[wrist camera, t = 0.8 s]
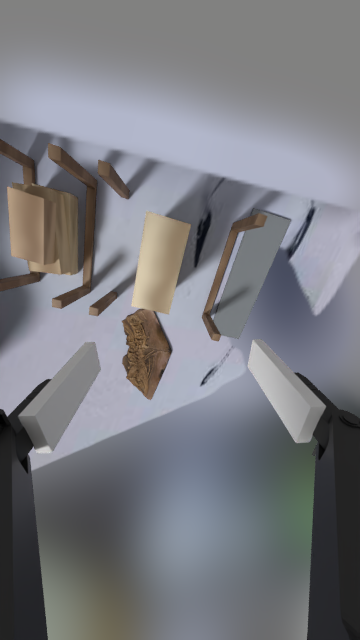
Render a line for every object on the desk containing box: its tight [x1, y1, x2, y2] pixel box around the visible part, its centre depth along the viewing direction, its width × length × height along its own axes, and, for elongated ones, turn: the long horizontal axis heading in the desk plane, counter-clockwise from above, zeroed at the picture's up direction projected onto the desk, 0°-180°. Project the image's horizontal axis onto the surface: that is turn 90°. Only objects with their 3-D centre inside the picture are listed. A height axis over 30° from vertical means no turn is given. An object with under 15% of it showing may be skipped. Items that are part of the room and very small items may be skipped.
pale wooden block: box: [132, 211, 191, 314], centre depth 26 cm, size 5×11×12 cm, turn 165°
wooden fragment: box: [122, 309, 172, 400], centre depth 40 cm, size 26×11×1 cm, turn 173°
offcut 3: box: [32, 183, 78, 275], centre depth 28 cm, size 5×12×3 cm, turn 167°
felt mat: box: [213, 208, 290, 339], centre depth 34 cm, size 7×24×1 cm, turn 166°
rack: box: [0, 139, 268, 341], centre depth 26 cm, size 34×18×10 cm, turn 75°
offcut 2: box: [12, 182, 72, 274], centre depth 26 cm, size 5×11×3 cm, turn 172°
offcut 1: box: [7, 186, 56, 265], centre depth 23 cm, size 4×8×2 cm, turn 163°
